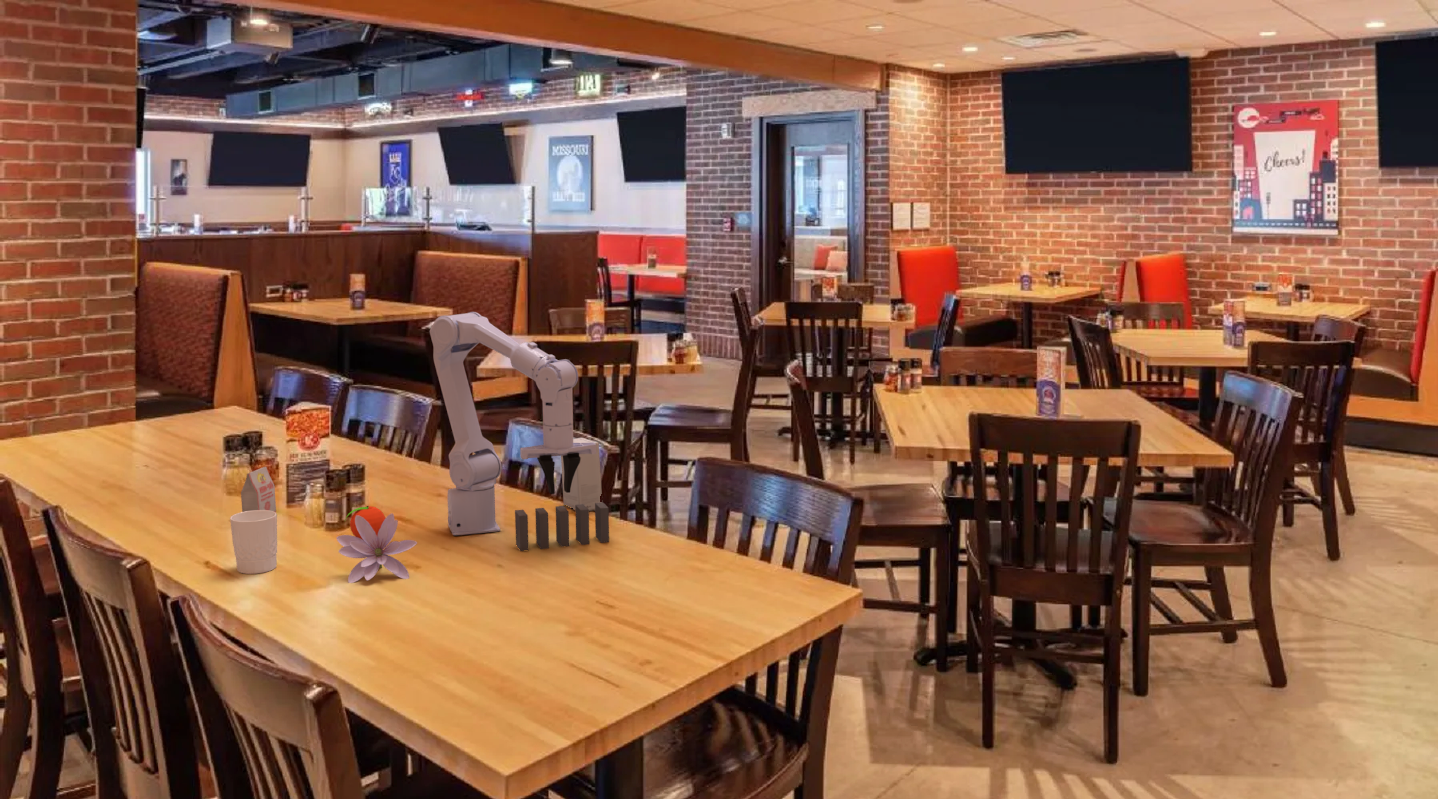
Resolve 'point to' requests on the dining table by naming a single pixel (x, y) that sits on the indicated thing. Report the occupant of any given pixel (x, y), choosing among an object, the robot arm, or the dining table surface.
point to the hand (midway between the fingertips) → (559, 492)
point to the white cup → (255, 540)
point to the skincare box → (584, 480)
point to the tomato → (367, 519)
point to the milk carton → (258, 491)
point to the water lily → (374, 549)
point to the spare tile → (562, 526)
